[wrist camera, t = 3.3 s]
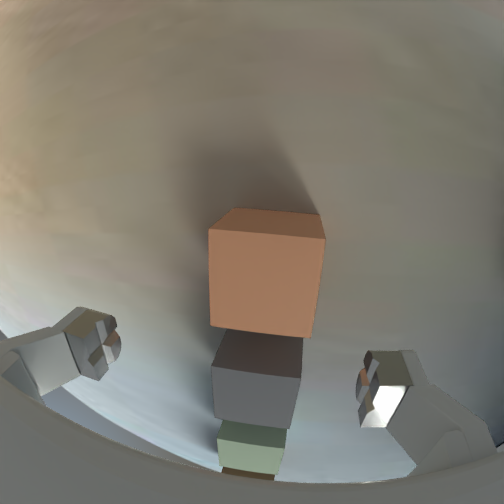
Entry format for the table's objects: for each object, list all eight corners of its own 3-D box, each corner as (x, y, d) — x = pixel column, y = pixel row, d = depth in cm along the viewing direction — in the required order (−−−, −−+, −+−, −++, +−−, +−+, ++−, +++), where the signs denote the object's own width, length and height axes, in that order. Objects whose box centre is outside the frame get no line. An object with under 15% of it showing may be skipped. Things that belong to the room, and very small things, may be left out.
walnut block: (274, 466, 26) (268, 500, 21) (231, 459, 27) (222, 493, 22) (279, 446, 24) (273, 485, 20) (231, 439, 25) (219, 477, 20)
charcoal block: (294, 379, 21) (289, 428, 16) (231, 370, 21) (214, 417, 17) (303, 328, 19) (301, 378, 14) (231, 319, 20) (210, 366, 15)
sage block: (283, 432, 23) (277, 474, 19) (231, 425, 24) (219, 465, 19) (290, 401, 22) (284, 448, 17) (231, 393, 22) (216, 438, 18)
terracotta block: (309, 291, 18) (310, 338, 13) (233, 283, 19) (210, 325, 14) (319, 214, 16) (325, 239, 12) (234, 207, 17) (208, 228, 12)
